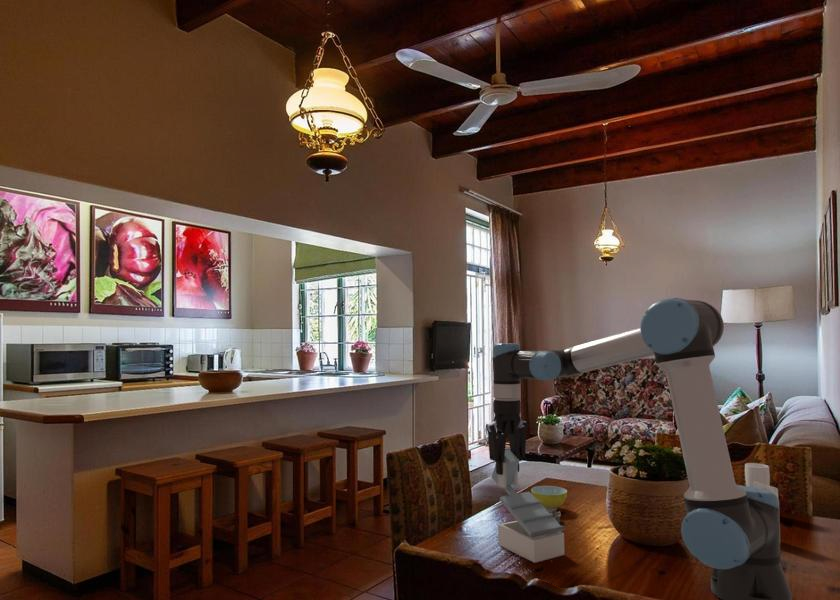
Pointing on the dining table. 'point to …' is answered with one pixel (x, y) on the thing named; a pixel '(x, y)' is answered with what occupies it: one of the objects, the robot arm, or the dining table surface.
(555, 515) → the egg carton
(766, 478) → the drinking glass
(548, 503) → the bowl
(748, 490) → the robot arm
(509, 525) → the tub
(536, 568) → the dining table surface
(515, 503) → the grey stepped piece
